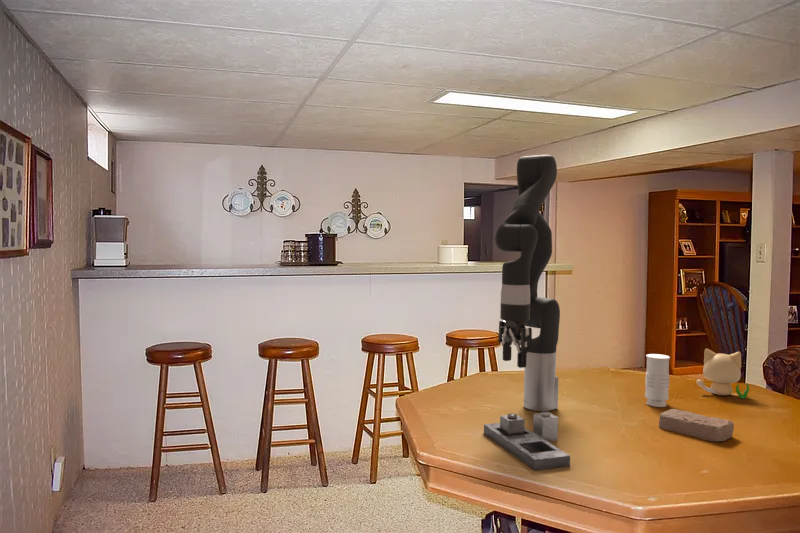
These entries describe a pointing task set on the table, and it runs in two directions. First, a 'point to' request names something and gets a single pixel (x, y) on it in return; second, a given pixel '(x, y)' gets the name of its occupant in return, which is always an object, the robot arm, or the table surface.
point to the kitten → (722, 373)
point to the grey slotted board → (529, 448)
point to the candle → (657, 379)
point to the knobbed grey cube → (512, 425)
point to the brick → (696, 425)
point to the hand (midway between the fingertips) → (514, 363)
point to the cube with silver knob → (546, 426)
